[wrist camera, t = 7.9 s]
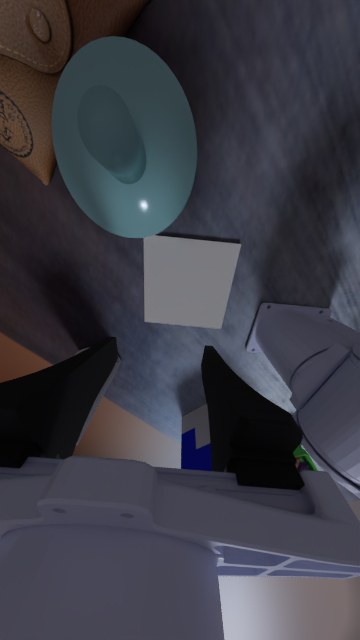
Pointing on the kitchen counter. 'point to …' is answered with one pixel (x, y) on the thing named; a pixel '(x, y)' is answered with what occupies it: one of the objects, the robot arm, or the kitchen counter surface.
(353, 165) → the kitchen counter surface
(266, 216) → the kitchen counter surface
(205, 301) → the plate
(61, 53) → the sunglasses case
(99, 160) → the lid
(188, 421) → the puzzle toy
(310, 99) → the kitchen counter surface
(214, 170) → the kitchen counter surface
